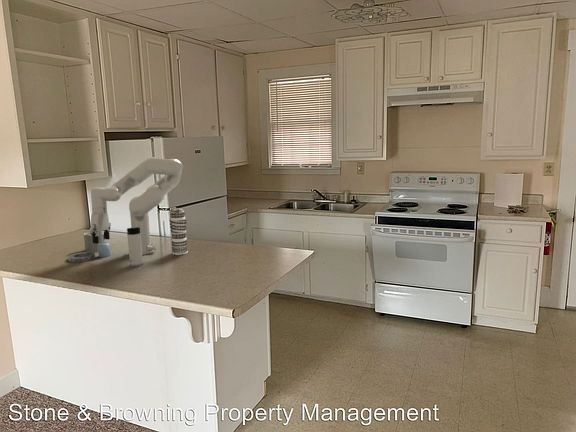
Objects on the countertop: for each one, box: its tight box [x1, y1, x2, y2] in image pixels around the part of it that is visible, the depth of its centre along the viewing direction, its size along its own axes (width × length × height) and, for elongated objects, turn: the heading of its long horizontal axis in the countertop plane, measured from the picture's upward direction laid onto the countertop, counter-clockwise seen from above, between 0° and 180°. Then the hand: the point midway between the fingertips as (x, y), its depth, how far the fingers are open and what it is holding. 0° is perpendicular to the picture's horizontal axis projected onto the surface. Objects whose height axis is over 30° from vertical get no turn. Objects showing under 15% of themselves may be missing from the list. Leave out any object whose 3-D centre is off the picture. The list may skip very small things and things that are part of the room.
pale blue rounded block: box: [97, 241, 112, 258], centre depth 238 cm, size 6×6×7 cm
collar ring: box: [67, 251, 96, 263], centre depth 234 cm, size 13×13×2 cm
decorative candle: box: [169, 207, 189, 256], centre depth 240 cm, size 9×9×25 cm
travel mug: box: [126, 227, 144, 268], centre depth 219 cm, size 6×7×20 cm
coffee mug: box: [83, 231, 106, 253], centre depth 252 cm, size 13×10×10 cm
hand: (101, 241), depth 237 cm, fingers open, 9 cm apart
